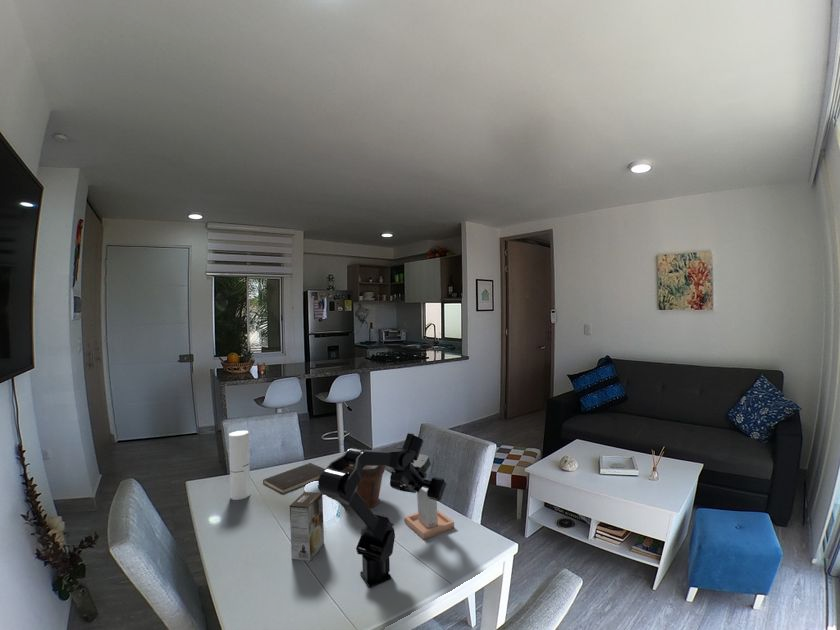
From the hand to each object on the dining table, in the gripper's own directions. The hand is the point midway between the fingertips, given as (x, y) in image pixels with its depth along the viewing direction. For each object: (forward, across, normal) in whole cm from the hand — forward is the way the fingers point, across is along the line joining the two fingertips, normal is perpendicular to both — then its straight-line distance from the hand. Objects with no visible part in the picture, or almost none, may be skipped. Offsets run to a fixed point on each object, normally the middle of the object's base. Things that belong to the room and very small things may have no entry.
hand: (427, 494), depth 130 cm
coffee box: (-13, +24, +29) cm, 40 cm away
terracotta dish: (+8, 0, +7) cm, 11 cm away
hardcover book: (+10, +69, +6) cm, 70 cm away
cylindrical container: (-6, +76, +21) cm, 79 cm away
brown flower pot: (+9, +30, +6) cm, 32 cm away
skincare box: (+8, 0, +7) cm, 10 cm away
